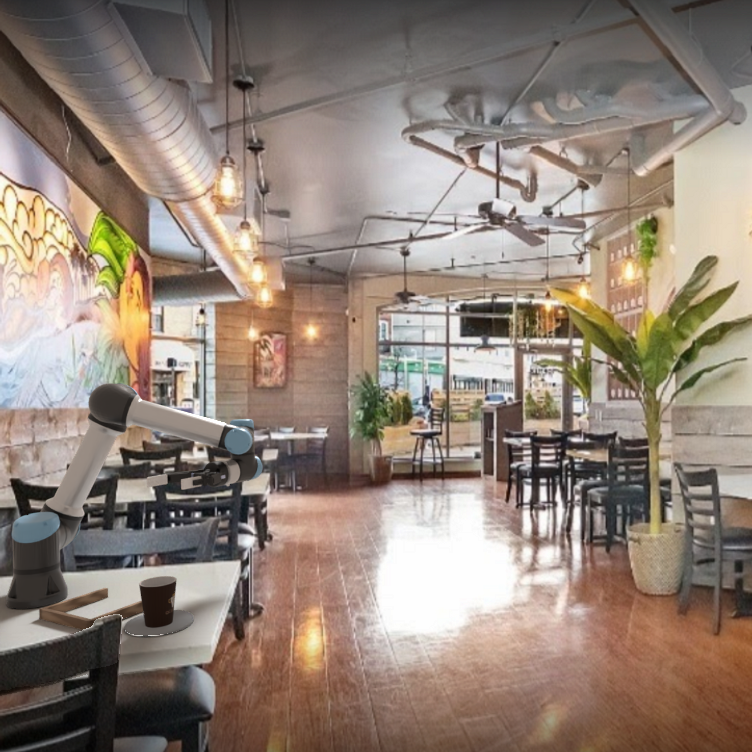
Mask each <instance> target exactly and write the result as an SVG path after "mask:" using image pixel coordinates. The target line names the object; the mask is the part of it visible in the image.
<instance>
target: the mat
mask: <svg viewBox="0 0 752 752" xmlns="http://www.w3.org/2000/svg"><path fill="white" fill-rule="evenodd" d="M194 620H195V619H194V615H193V614H192V613H191V612H189V611H188V610H187V611H186V610H181V609H174V614H173V622H172V623H171V624H169V625H167V626H163V627H158V628H150V627H146V626H145V620H144V613H142V614H141V615H137V616H135V617H133V618H131V619H129V620H128V621H127V622H126V623H125V624H124V629H125V630H126V632H128V633H130V634H134V635H143V636H148V635H160V634H167V633H172V632H176V631H178V632H180V631H179V630H181V631H183V630H185V629H187V628H188V626H189V627H190V626H191V625H192V624H193V623H194ZM186 627H187V628H186ZM124 629H123V630H124ZM182 629H183V630H182ZM125 630H124V631H125ZM176 633H177V632H176ZM172 634H173V633H172Z"/></svg>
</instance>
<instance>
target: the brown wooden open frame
mask: <svg viewBox="0 0 752 752" xmlns="http://www.w3.org/2000/svg"><path fill="white" fill-rule="evenodd" d="M107 598H109V588H108V587H103V588H99V589H97V590H93V591H91V592H87V593H84V594H82V595H79V596H75V597H73V598H69V599H66V600H65V599H64V601H63V600H61V601H59V602H56V603H53V604H50V605H46V606H43V607H40V608H39V611H38V612H39V613H38V615H39V617H38V618H39V620H43V621H45V622H46V621H47V622H50V623H53V624H58V625H61V626H64V627H65V626H66V627H69V628H73V629H76V630H79V631H80V630H81V631H84V630H83V629H86V628H89V627H91V626H92V625H93V623H94V621H95V620H96V619H98V618H101V617H104V616H108V615H113V614H120V615H122V617H123V619H122V620H124V618H125V619H127V618H129V617H132V616H134V615H138V614H140V613H142V612H143V607H142V600H139V601H135V602H134V603H130V604H128V605H125V606H122V607H120V608H117V609H114V610H112V611H109V612H106V613H103V614H101V615H98V616H95V617H92V618H88V617H83V616H80V615H75V614H71V613H67V612H68V611H69V612H70V611H73V610H74V609H77V608H81V607H83V606H86V605H89V604H92V603H95V602H98V601H102V600H103V599H107ZM126 617H127V618H126Z"/></svg>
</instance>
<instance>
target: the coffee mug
mask: <svg viewBox="0 0 752 752" xmlns="http://www.w3.org/2000/svg"><path fill="white" fill-rule="evenodd" d="M138 585H139V592H140V599H141V600H140V601H142V607H143V613H142V614H144V620H145V626H146V627H150V628H158V627H163V626H167V625H169V624H171V623H172V622H173V614H174V610H175V600H176V590H177V577H174V576H169V575H163V576H160V575H159V576H154V577H150V578H145V579H143V580H141V581H140V582H139V583H138Z"/></svg>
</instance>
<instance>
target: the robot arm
mask: <svg viewBox="0 0 752 752" xmlns="http://www.w3.org/2000/svg"><path fill="white" fill-rule="evenodd" d="M87 403H88V408H89V414H88V416H87V421H88V423H89V426H88V428H87V430H86V432H85V433H84V436H83V438H82V440H81V442H80V443H79V446H78V448H77V450H76V452H75V454H74V456H73V458H72V459H71V461H70V462H71V463H70V464H69V465H68V468H67V469H66V472H65V474H64V476H63V478H62V480H61V482H60V484H59V486H58V488H57V490H56V492H55V494H54V496H53V497H51V498H48V499H46V500H45V502H44V504H43V506H42V508H41V510H40V512H33V513H28V515H27V514H25V515H22V516H20V517H18V518H16V519H15V520H14V521H13V523H12V530H11V538H12V541H11V542H12V543H11V544H12V572H13V573H12V579H11V582H10V584H9V585H10V586H9V588H8V591H7V595H6V599H5V601H6V607H8V608H9V607H10V608H9V609H14V608H16V609H17V610H21V609H22V610H23V609H24V610H26V609H27V610H28V609H34V608H42V607H47V606H50V605H53V604H56V603H59V602H62V601H63V600H65V599H66V598H67V597H68V595H69V594H68V593H69V592H68V590H69V588H68V584H67V583H66V580H65V578H64V575H63V572H62V570H61V550H62V549H63V548H66V547H68V546H69V545H70V544H71V543H73V542H74V541H75V540H76V539H77V536H78V534H79V533H80V529H81V522H82V520H83V518H84V516H85V511H84V509H83V506H84V505H85V502H86V500H87V498H88V496H89V495H90V492H91V490H92V488H93V486H94V484H95V482H96V480H97V478H98V476H99V474H100V472H101V471H102V468H103V465H104V464H105V462H106V459H107V458H108V455H109V454H110V452H111V449H112V448H113V446H114V444H115V442H116V440H117V438H118V436H120V435H124V434H125V433H126V431H127V428H129V427H131V426H137V427H140V428H145V429H147V430H151V431H155V432H159V433H163V434H166V435H170V436H173V437H176V438H177V437H178V438H181V439H184V440H188V441H192V442H196V443H199V444H203V445H207V446H210V447H213V448H218V449H221V450H224V451H228V452H229V454H230V458H228V459H221V460H217V461H211V462H208V463H206V465H205V466H204V468H200V469H192V470H186V471H177V472H168V473H164V472H163V473H161V474H159V475H153V476H148V477H146V487H147V488H153V487H156V486H162V485H163V486H166V487H167V484H171V483H172V484H173V483H180V488H181V489H180V490H190V489H194V488H200V487H202V486H204V487H206V486H208V487H211V488H217V487H223V486H226V487H230V486H231V485H232V484H236V483H237V484H238V483H242V482H249V481H252V480H255V479H257V478H259V477H260V476H261V475H262V473H263V468H264V467H263V462H262V461H261V459H260V457H259V456H256V453H255V452H256V451H255V426H254V420H253V419H250V418H242V419H232V420H230V422H229V423H225V422H221V421H218V420H215V419H212V418H208V417H205V416H201V415H198V414H194V413H191V412H187V411H183V410H180V409H176V408H173V407H170V406H169V407H168V406H166V405H161V404H159V403H156V402H152V401H148V400H144V399H142V397H141V396H140V395H139V394H138V392H137V390H135V388H133V387H131V386H130V385H128V384H124V383H119V382H118V383H113V382H112V383H111V382H110V383H109V382H108V383H103V384H101V385H99V386H97V387H96V388H95V389H93V390H92V392H91V394H90V395H89V398H88V402H87ZM230 484H231V485H230ZM16 609H15V610H16Z"/></svg>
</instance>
